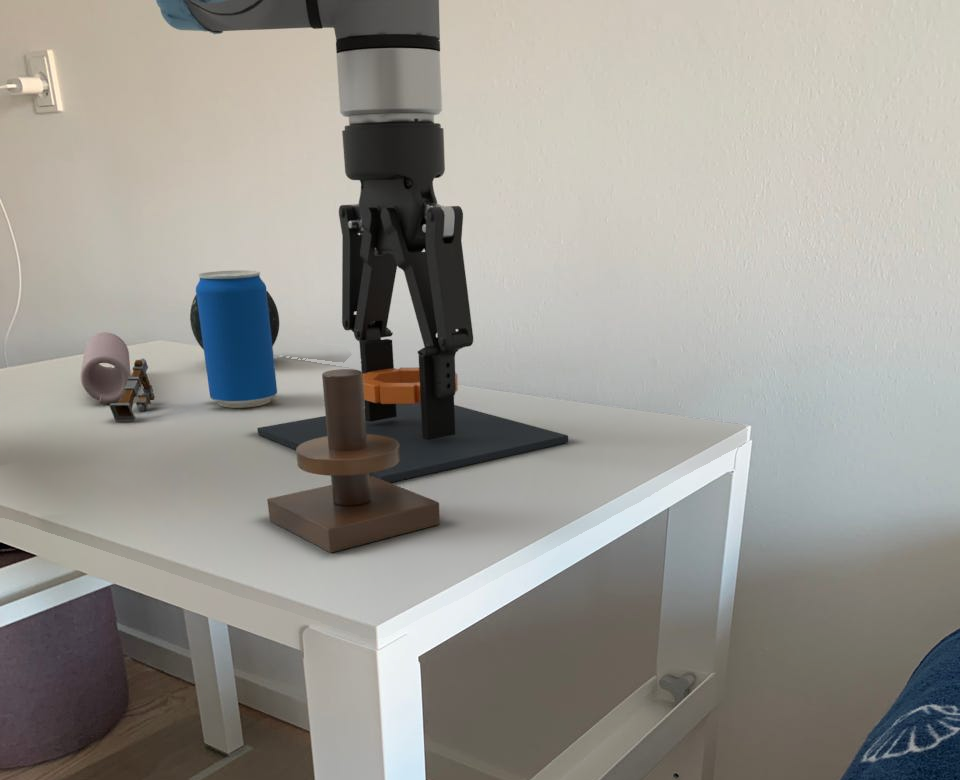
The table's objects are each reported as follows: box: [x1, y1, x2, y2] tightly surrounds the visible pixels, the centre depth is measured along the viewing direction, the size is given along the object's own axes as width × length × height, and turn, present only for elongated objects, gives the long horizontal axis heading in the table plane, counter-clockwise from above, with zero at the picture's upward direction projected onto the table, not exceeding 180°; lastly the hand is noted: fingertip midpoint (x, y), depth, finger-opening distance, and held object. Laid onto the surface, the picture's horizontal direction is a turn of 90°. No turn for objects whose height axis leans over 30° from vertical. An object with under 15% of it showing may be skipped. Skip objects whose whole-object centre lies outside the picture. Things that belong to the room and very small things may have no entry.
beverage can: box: [195, 269, 278, 409], centre depth 96 cm, size 6×6×12 cm
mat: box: [256, 402, 569, 484], centre depth 84 cm, size 20×18×1 cm
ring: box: [362, 367, 459, 404], centre depth 82 cm, size 8×8×1 cm
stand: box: [267, 368, 441, 554], centre depth 62 cm, size 8×8×10 cm
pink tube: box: [80, 331, 132, 405], centre depth 106 cm, size 5×5×18 cm
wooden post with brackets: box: [108, 358, 156, 422], centre depth 95 cm, size 2×8×4 cm, turn 177°
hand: (409, 426), depth 84 cm, fingers closed on ring, 8 cm apart
